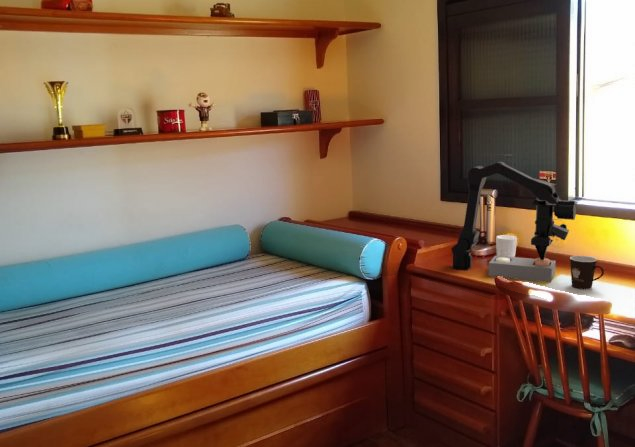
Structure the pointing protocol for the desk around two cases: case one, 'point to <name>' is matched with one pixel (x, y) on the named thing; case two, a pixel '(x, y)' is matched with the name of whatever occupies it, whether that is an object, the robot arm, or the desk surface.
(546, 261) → the terracotta button
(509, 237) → the white cup
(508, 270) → the grey rectangular block
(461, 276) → the desk surface
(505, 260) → the white short cylinder
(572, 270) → the coffee mug
